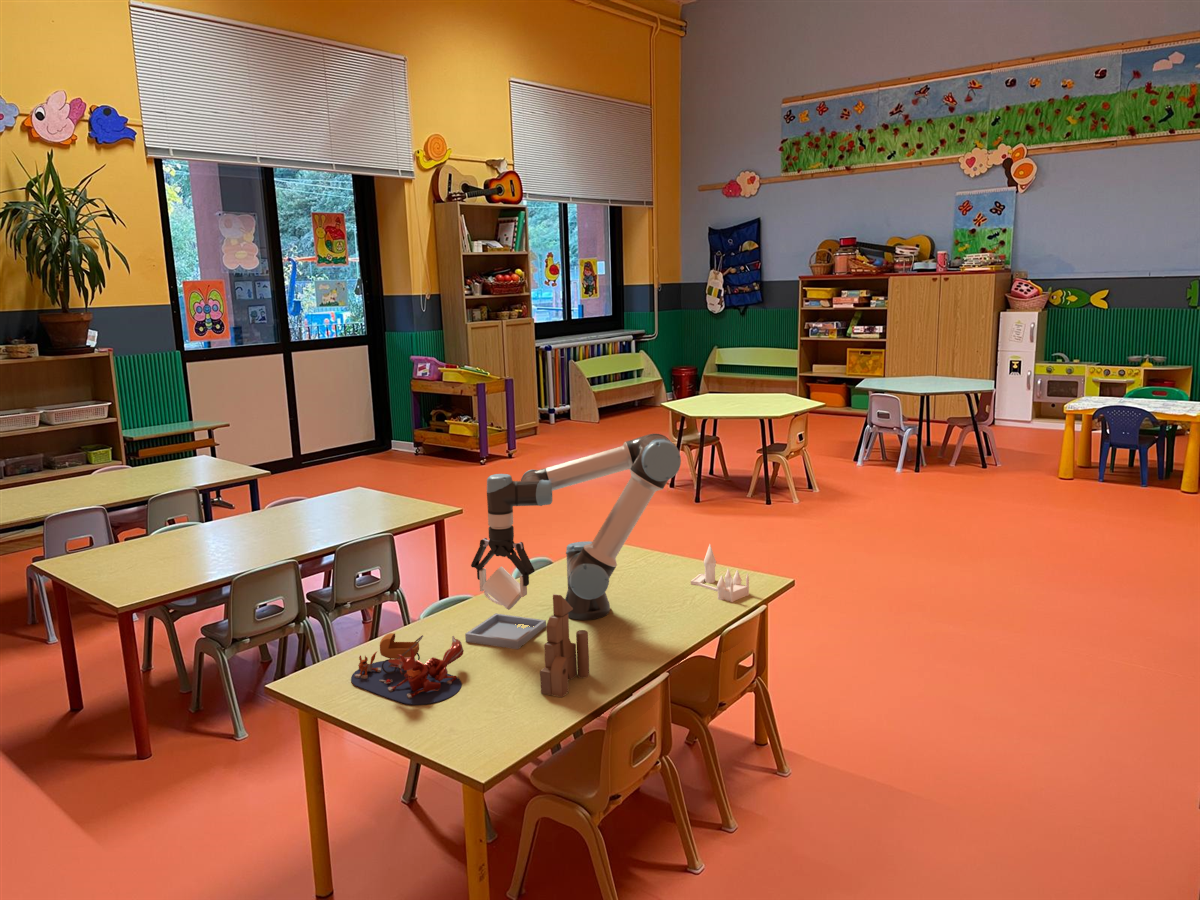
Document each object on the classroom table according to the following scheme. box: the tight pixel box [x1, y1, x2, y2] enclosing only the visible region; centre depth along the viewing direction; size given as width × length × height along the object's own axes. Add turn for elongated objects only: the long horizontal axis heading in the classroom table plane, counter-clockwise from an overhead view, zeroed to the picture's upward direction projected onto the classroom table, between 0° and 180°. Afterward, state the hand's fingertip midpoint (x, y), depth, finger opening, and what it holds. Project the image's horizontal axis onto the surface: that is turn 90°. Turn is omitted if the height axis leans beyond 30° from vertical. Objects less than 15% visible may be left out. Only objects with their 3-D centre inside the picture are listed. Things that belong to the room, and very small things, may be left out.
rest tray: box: [464, 613, 547, 650], centre depth 272 cm, size 18×18×3 cm
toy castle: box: [690, 543, 750, 603], centre depth 301 cm, size 14×25×16 cm, turn 41°
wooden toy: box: [539, 593, 590, 698], centre depth 235 cm, size 16×7×25 cm, turn 152°
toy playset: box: [350, 632, 465, 706], centre depth 244 cm, size 35×26×14 cm
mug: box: [482, 566, 522, 611], centre depth 270 cm, size 11×9×10 cm
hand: (503, 593), depth 270 cm, fingers closed on mug, 13 cm apart
